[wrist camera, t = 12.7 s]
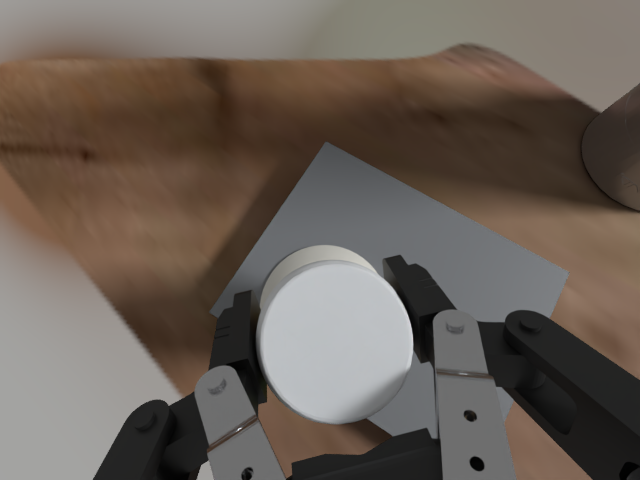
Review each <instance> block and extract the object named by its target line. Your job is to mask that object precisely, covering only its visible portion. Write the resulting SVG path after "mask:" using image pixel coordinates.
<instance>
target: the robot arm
mask: <svg viewBox="0 0 640 480" xmlns="http://www.w3.org/2000/svg"><path fill="white" fill-rule="evenodd" d="M582 157H583V160H584V163H585V167H586V169H587V170H588V172H589V174H590V176H591V178H592V179H593V180H594V182H595V183H596V184H597V185H598V186H599V188H600V189H601V190H603V191H604V192H605V193H606V194H607V195H608V196H610V197H611V198H613V199H614V200H616V201H618V202H619V203H621V204H623V205H625V206H628V207H630V208H633V209H635V210H639V211H640V83H639V84H638V85H637V86H636V87H634V88H633V89H632V90H630V91H629V92H628V93H626V94H625V95H624V96H623V97H621V98H620V99H619V100H618V101H616V102H615V103H614V104H612V105H611V106H610V107H608V108H607V109H606V110H605V111H603V112H602V113H601V114H599V115H598V116H597V117H596V118H594V119H593V121H592V122H591V123H590V124H589V125H588V127H587V129H586V131H585V133H584V135H583V140H582ZM382 264H383V274H384V280H385V281H387V282H388V283H389V284H390V285H391V287H392V288H393V289H394V290H395V291H396V293H397V294H398V296H399V297H400V299H401V300H402V302H403V304H404V306H405V308H406V311H407V313H408V316H409V320H410V323H411V328H412V334H413V350H414V352H415V354H416V356H417V358H418V359H419V361H420V363H421V364H422V363H426V362H430V364H431V365H432V367H433V379H434V399H435V419H436V438H432V437H431V435H430V433H429V430H428V428H423V429H419V430H415V431H412V432H408V433H404V434H400V435H396V436H394V437H392V438H390V439H388V440H387V441H385V442H383V443H382V444H380V445H378V446H377V447H375V448H373V449H372V450H370V451H368V452H367V453H365V454H362V455H342V454H324V455H320V456H316V457H312V458H308V459H305V460H301V461H297V462H293V463H292V475H291V476H290V477H288V478H287V479H286V476H285V474H284V472H283V470H282V468H281V466H280V464H279V462H278V459H277V457H276V455H275V453H274V451H273V449H272V446H271V444H270V442H269V440H268V438H267V436H266V434H265V431H264V429H263V427H262V425H261V423H260V421H259V419H258V404H262V403H266V402H267V383H266V381H265V379H264V377H263V374H262V372H261V369H260V366H259V363H258V359H257V353H256V330H257V324H258V319H259V315H260V312H261V308H260V306H259V303H258V300H257V298H256V295H255V292H254V290H248V291H244V292H240V293H236V294H234V300H233V307H230V308H226V309H224V310H223V312H222V313H221V315H220V316H219V318H218V320H217V325H216V331H215V336H214V338H215V340H214V342H213V348H212V353H211V359H210V365H209V370H208V372H206V373H205V374H204V375H203V376H202V377H201V378H200V379H199V381H198V383H197V385H196V387H195V391H194V392H193V393H191V394H190V395H188V396H186V397H185V398H183V399H181V400H179V401H177V402H175V403H173V404H172V405H170V406H168V404H167V403H166V402H165V401H163V400H152V401H149V402H146V403H145V404H143V405H141V406H140V407H138V408H137V409H136V410H135V411H133V412H132V413H131V415H130V416H129V417H128V418H127V420H126V421H125V423H124V425H123V427H122V428H121V430H120V432H119V434H118V436H117V437H116V439H115V441H114V443H113V444H112V446H111V448H110V450H109V452H108V454H107V455H106V457H105V459H104V461H103V463H102V464H101V466H100V468H99V470H98V472H97V473H96V475H95V477H94V478H93V480H196V479H197V476H198V473H199V470H200V467H201V465H202V464H203V463H205V462H207V461H208V460H209V462H210V466H211V469H212V473H213V477H214V480H517V479H516V475H515V470H514V466H513V461H512V457H511V452H510V448H509V443H508V439H507V434H506V430H505V425H504V421H503V417H502V412H501V408H500V403H499V399H498V394H497V390H496V387H502V388H503V389H504V390H505V391H506V392H507V393H508V394H509V395H510V397H511V398H512V399H513V400H514V401H515V402H516V403H517V404H518V405H519V406H520V407H521V408H522V409H523V410H524V411H525V412H526V413H527V414H528V415H529V416H530V417H531V418H532V419H533V420H534V421H535V422H536V423H537V424H538V425H539V426H540V427H541V428H542V429H543V430H544V431H545V432H546V433H547V434H548V435H549V436H550V437H551V438H552V439H553V440H554V441H555V442H556V443H557V444H558V445H559V446H560V447H561V448H562V449H563V450H564V451H565V452H566V453H567V454H568V455H569V456H570V457H571V458H572V459H573V460H574V461H575V462H576V463H577V464H578V465H579V466H580V467H581V468H582V469H583V470H584V471H585V472H586V473H587V474H588V475H589V476H590V477H591V478H592V479H593V480H640V380H639V379H637V378H636V377H634V376H633V375H631V374H630V373H628V372H627V371H625V370H624V369H622V368H621V367H620V366H618V365H617V364H615V363H614V362H612V361H611V360H609V359H608V358H606V357H605V356H603V355H602V354H600V353H599V352H598V351H596V350H595V349H593V348H592V347H590V346H589V345H587V344H586V343H584V342H583V341H581V340H580V339H579V338H577V337H576V336H574V335H573V334H571V333H570V332H568V331H567V330H565V329H564V328H562V327H561V326H559V325H558V324H557V323H555V322H554V321H552V320H551V319H549V318H548V317H546V316H544V315H542V314H540V313H538V312H535V311H530V310H516V311H513V312H511V313H509V314H508V315H507V316H506V318H505V322H481V321H476V320H475V319H474V318H473V317H472V316H471V315H470V314H468V313H466V312H463V311H460V310H457V309H456V307H455V306H454V305H453V303H452V302H451V301H450V300H449V298H448V297H447V296H446V294H445V293H444V292H443V290H442V289H441V288H440V287H439V286H438V285H437V283H436V281H435V280H434V279H433V278H432V276H431V275H430V274H429V272H428V271H427V270H426V269H425V268H423V267H422V266H420V265H418V264H416V263H415V264H411V265H408V264H407V263H406V261H405V260H404V258H403V257H402V256H401V255H396V256H392V257H388V258H384V259H383V260H382Z"/></svg>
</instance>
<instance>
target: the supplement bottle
mask: <svg viewBox="0 0 640 480" xmlns="http://www.w3.org/2000/svg"><path fill="white" fill-rule="evenodd" d="M256 353H257V359H258V363H259V366H260V369H261V372H262V374H263V377H264V379H265V381H266V383H267V384H268V386H269V388H270V389H271V391H272V392H273V393H274V395H275V396H276V397H277V398H278V399H279V400H280V401H281V402H282V403H283V404H284V405H285V406H286V407H287V408H289V409H290V410H292V411H293V412H294V413H296V414H298V415H300V416H302V417H304V418H306V419H309V420H311V421H314V422H318V423H325V424H346V423H352V422H357V421H360V420H363V419H365V418H368V417H370V416H372V415H374V414H375V413H377V412H378V411H380V410H381V409H383V408H384V407H385V406H386V405H387V404H388V403H389V402H390V401H391V400H392V399H393V398H394V397H395V396H396V394H397V393H398V392H399V390H400V389H401V387H402V385H403V384H404V382H405V380H406V378H407V375H408V372H409V369H410V366H411V361H412V355H413V334H412V328H411V323H410V320H409V316H408V313H407V311H406V308H405V306H404V304H403V302H402V300H401V299H400V297H399V296H398V294H397V293H396V291H395V290H394V289H393V288H392V287H391V285H390V284H389V283H388V282H387V281H385V280H384V279H383V278H382V277H381V276H380V275H378V274H377V273H375V272H374V271H372V270H370V269H369V268H367V267H364V266H362V265H360V264H357V263H353V262H350V261H344V260H322V261H316V262H313V263H309V264H306V265H304V266H302V267H300V268H298V269H296V270H294V271H292V272H291V273H290V274H288V275H287V276H285V277H284V278H283V279H282V280H281V281H280V282H279V283H278V284H277V285H276V286H275V287H274V288H273V290H272V291H271V293H270V294H269V296H268V297H267V299H266V301H265V303H264V305H263V307H262V309H261V312H260V315H259V319H258V324H257V330H256Z"/></svg>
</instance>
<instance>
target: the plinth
mask: <svg viewBox="0 0 640 480" xmlns="http://www.w3.org/2000/svg"><path fill="white" fill-rule="evenodd" d="M396 255H401V256H402V257H403V258H404V260H405V261H406V263H407V264H408V265H411V264H415V263H416V264H418V265H420V266H422V267H423V268H425V269H426V270H427V271H428V272H429V274H430V275H431V276H432V278H433V279H434V280H435V281H436V283H437V285H438V286H439V287H440V288H441V289H442V290H443V292H444V293H445V294H446V296H447V297H448V298H449V300H450V301H451V302H452V303H453V305H454V306H455V307H456V309H457V310H460V311H463V312H466V313H468V314H470V315H471V316H472V317H473V318H474V319H475V320H476V321H481V322H505V318H506V316H507V315H508V314H509V313H511V312H513V311H516V310H530V311H535V312H538V313H540V314H542V315H544V316H546V317H548V318H549V319H550V316H551V314H552V312H553V310H554V307H555V305H556V303H557V300H558V298H559V296H560V294H561V291H562V289H563V287H564V284H565V282H566V280H567V278H568V275H569V273H570V272H568V271H566V270H564V269H562V268H560V267H559V266H557V265H555V264H553V263H551V262H549V261H547V260H546V259H544V258H542V257H540V256H538V255H536V254H534V253H533V252H531V251H529V250H527V249H525V248H523V247H521V246H520V245H518V244H516V243H514V242H512V241H510V240H508V239H507V238H505V237H503V236H501V235H499V234H497V233H495V232H494V231H492V230H490V229H488V228H486V227H484V226H482V225H481V224H479V223H477V222H475V221H473V220H471V219H469V218H468V217H466V216H464V215H462V214H460V213H458V212H456V211H455V210H453V209H451V208H449V207H447V206H445V205H443V204H442V203H440V202H438V201H436V200H434V199H432V198H430V197H429V196H427V195H425V194H423V193H421V192H419V191H417V190H416V189H414V188H412V187H410V186H408V185H406V184H404V183H403V182H401V181H399V180H397V179H395V178H393V177H391V176H390V175H388V174H386V173H384V172H382V171H380V170H378V169H377V168H375V167H373V166H371V165H369V164H367V163H365V162H364V161H362V160H360V159H358V158H356V157H354V156H352V155H351V154H349V153H347V152H345V151H343V150H341V149H339V148H338V147H336V146H334V145H332V144H330V143H328V142H325V144H324V145H323V146H322V148H321V149H320V151H319V152H318V154H317V155H316V157H315V158H314V160H313V161H312V163H311V164H310V165H309V167H308V168H307V170H306V171H305V173H304V174H303V176H302V177H301V179H300V180H299V182H298V183H297V184H296V186H295V187H294V189H293V190H292V192H291V193H290V195H289V196H288V198H287V199H286V201H285V202H284V203H283V205H282V206H281V208H280V209H279V211H278V212H277V214H276V215H275V217H274V218H273V220H272V221H271V222H270V224H269V225H268V227H267V228H266V230H265V231H264V233H263V234H262V236H261V237H260V238H259V240H258V241H257V243H256V244H255V246H254V247H253V249H252V250H251V252H250V253H249V255H248V256H247V257H246V259H245V260H244V262H243V263H242V265H241V266H240V268H239V269H238V271H237V272H236V274H235V275H234V276H233V278H232V279H231V281H230V282H229V284H228V285H227V287H226V288H225V290H224V291H223V293H222V294H221V295H220V297H219V298H218V300H217V301H216V303H215V304H214V306H213V307H212V309H211V310H210V312H209V313H211V314H212V315H214V316H215V317H217V318H219V316H220V315H221V313H222V312H223V310H224V309H226V308H230V307H233V300H234V294H236V293H240V292H244V291H248V290H254V292H255V295H256V298H257V300H258V303H259V306H260V308H261V309H262V307H263V305H264V303H265V301H266V299H267V297H268V296H269V294H270V293H271V291H272V290H273V288H274V287H275V286H276V285H277V284H278V283H279V282H280V281H281V280H282V279H283V278H284V277H285V276H287V275H288V274H290V273H291V272H292V271H294V270H296V269H298V268H300V267H302V266H304V265H306V264H309V263H313V262H316V261H322V260H344V261H350V262H353V263H357V264H360V265H362V266H364V267H367V268H369V269H370V270H372V271H374V272H375V273H377V274H378V275H380V276H381V277H382V278H383V279H384V274H383V264H382V260H383V259H384V258H388V257H392V256H396ZM496 390H497V394H498V399H499V403H500V408H501V412H502V417H503V421H504V422H505V419H506V417H507V415H508V413H509V410H510V408H511V406H512V403H513V401H514V400H513V399H512V398H511V397H510V395H509V394H508V393H507V392H506V391H505V390H504V389H503V388H502V387H496ZM367 419H368V420H370V421H371V422H373V423H374V424H376V425H377V426H379V427H380V428H382V429H383V430H385V431H386V432H388V433H389V434H391V435H392V436H396V435H400V434H404V433H408V432H412V431H415V430H419V429H423V428H428V430H429V433H430V435H431V437H432V438H436V419H435V399H434V379H433V367H432V365H431V364H430V362H426V363H422V364H421V363H420V361H419V359H418V358H417V356H416V354H415V352H414V350H413V355H412V361H411V366H410V369H409V372H408V375H407V378H406V380H405V382H404V384H403V385H402V387H401V389H400V390H399V392H398V393H397V394H396V396H395V397H394V398H393V399H392V400H391V401H390V402H389V403H388V404H387V405H386V406H385V407H384V408H383V409H381V410H380V411H378V412H377V413H375V414H374V415H372V416H370V417H368V418H367Z"/></svg>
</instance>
